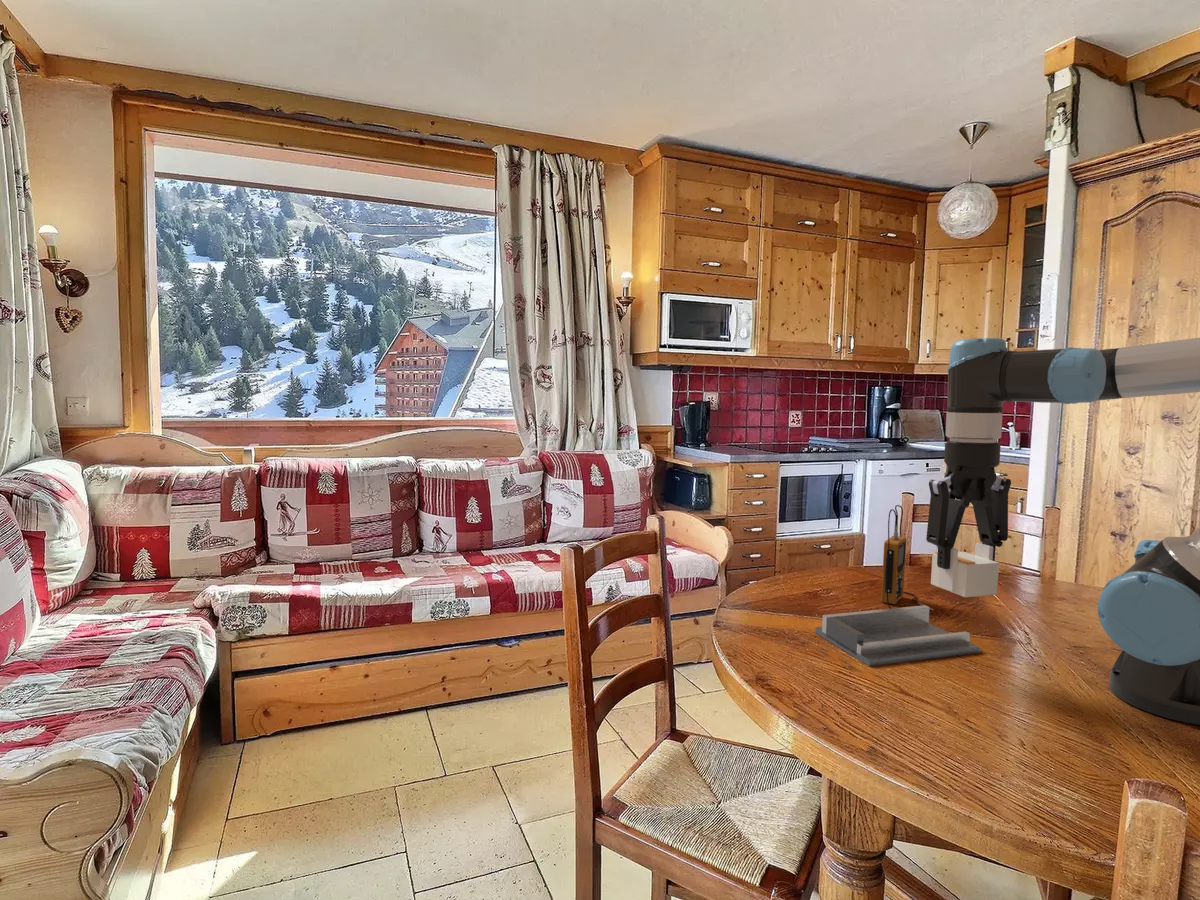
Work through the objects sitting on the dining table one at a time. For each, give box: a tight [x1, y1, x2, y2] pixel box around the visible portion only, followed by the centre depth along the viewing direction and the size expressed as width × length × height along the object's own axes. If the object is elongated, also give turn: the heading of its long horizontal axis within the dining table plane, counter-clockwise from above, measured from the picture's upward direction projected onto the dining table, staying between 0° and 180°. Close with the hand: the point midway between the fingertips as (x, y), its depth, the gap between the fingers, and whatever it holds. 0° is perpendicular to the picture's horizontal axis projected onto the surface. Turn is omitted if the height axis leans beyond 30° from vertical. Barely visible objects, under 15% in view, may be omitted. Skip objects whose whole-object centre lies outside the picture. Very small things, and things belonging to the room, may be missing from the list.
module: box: [930, 551, 1000, 598], centre depth 105 cm, size 7×6×5 cm
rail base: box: [814, 604, 981, 667], centre depth 117 cm, size 15×22×4 cm
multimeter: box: [880, 504, 934, 611], centre depth 138 cm, size 15×10×20 cm
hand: (964, 586), depth 105 cm, fingers closed on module, 6 cm apart
